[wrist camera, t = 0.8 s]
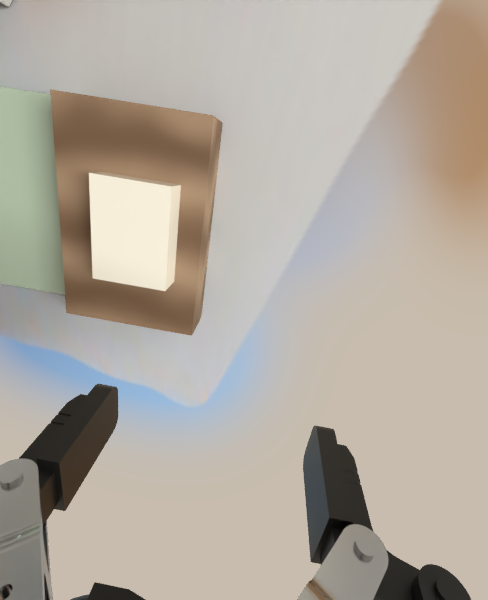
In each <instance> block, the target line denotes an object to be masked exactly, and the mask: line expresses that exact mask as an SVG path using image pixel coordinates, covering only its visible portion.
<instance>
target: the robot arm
mask: <svg viewBox="0 0 488 600" xmlns="http://www.w3.org/2000/svg"><path fill="white" fill-rule="evenodd" d="M117 420H118V389H117V388H116V387H112V386H107V385H102V384H97V385H95V387H94V388H93V389H92V390H91V391H90V393H89V394H88V395H82V394H81V395H79V396H77V397H75V398H74V399H72V400H71V401H69V402H68V403H67V404H66V405H65V406H64V407H63V408H62V409H61V411H60V412H59V414H58V415H56V416H55V418H54V419H53V420H52V421H51V423H50V424H48V426H47V427H46V428H45V429H44V430H43V431H42V433H41V434H40V435H39V436H38V437H37V438H36V440H35V441H34V442H33V443H32V444H31V445H30V446H29V448H28V449H27V450H26V451H25V452H24V453H23V455H22V456H21V457H20V458H19V459H15V460H11V461H8V462H6V463H4V464H2V465H0V600H53V596H52V588H51V576H50V563H49V547H48V533H47V519H48V517H49V516H50V514H51V513H52V511H53V509H58V510H63V511H65V510H66V509H67V507H68V505H69V504H70V502H71V500H72V499H73V497H74V495H75V494H76V492H77V490H78V489H79V487H80V486H81V484H82V482H83V481H84V479H85V477H86V476H87V474H88V472H89V471H90V469H91V467H92V466H93V464H94V462H95V461H96V459H97V457H98V456H99V454H100V452H101V451H102V449H103V448H104V446H105V444H106V443H107V441H108V439H109V438H110V436H111V434H112V433H113V430H114V429H115V426H116V423H117ZM303 463H304V464H303V470H304V483H305V496H306V507H307V520H308V531H309V545H310V557H311V562H314V563H319V564H321V566H320V568H319V570H318V571H317V573H316V574H315V576H314V577H313V579H312V580H311V581H309V583H308V584H307V585H306V587H305V588H304V590H303V591H302V593H301V594H300V596H299V598H298V599H297V600H471V599H470V596H469V594H468V593H467V591H466V589H465V588H464V587H463V585H462V584H461V583H460V582H459V580H458V579H457V578H456V577H455V576H454V575H452V574H451V573H450V572H449V571H447V570H445V569H444V568H442V567H440V566H437V565H432V564H430V565H425V566H423V567H422V568H421V570H419V569H416V568H415V567H413V566H411V565H409V564H408V563H406V562H404V561H402V560H400V559H398V558H397V557H395V556H393V555H392V554H391V553H390V552H388V551H387V550H386V548H385V546H384V544H383V543H382V541H381V540H380V538H379V537H378V536H377V535H376V534H375V533H374V532H373V529H372V526H371V523H370V519H369V515H368V511H367V507H366V503H365V499H364V495H363V491H362V487H361V485H360V479H359V475H358V474H357V467H356V464H355V460H354V457H353V456H352V454H351V453H350V451H349V450H348V448H347V447H346V446H344V445H339V444H337V440H336V435H335V431H334V430H333V429H330V428H325V427H319V426H314V427H313V429H312V432H311V436H310V438H309V441H308V445H307V448H306V451H305V455H304V462H303ZM71 600H145V599H143V598H142V597H140V596H138V595H137V594H135V593H134V592H132V591H130V590H129V589H123V588H118V587H114V586H110V585H104V584H100V583H94V585H93V588H92V590H91V592H90V594H89V595H84V596H80V597H77V598H73V599H71Z"/></svg>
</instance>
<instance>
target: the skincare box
mask: <svg viewBox="0 0 488 600" xmlns="http://www.w3.org/2000/svg"><path fill="white" fill-rule="evenodd" d="M11 2H12V0H0V3H2V4H4V5H5V6H7V7H9V6H10V4H11Z"/></svg>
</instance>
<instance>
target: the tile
mask: <svg viewBox="0 0 488 600" xmlns="http://www.w3.org/2000/svg"><path fill="white" fill-rule="evenodd" d="M180 191H181V185H178V184H172V183H166V182H160V181H154V180H148V179H142V178H136V177H130V176H124V175H118V174H112V173H106V172H98V173H89V193H90V221H91V249H92V276H93V279H99V280H105V281H110V282H116V283H122V284H127V285H133V286H139V287H144V288H150V289H156V290H161V291H166V290H167V289H168V288H169V287H170V286H171V284H172V283H173V282H174V277H175V263H176V249H177V234H178V220H179V205H180Z"/></svg>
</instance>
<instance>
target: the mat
mask: <svg viewBox="0 0 488 600" xmlns="http://www.w3.org/2000/svg"><path fill="white" fill-rule="evenodd" d="M0 283H1V284H7V285H12V286H18V287H24V288H29V289H35V290H40V291H46V292H51V293H57V294H63V295H65V285H64V272H63V258H62V244H61V230H60V217H59V203H58V189H57V175H56V162H55V148H54V134H53V121H52V107H51V95H49V94H43V93H36V92H30V91H24V90H18V89H11V88H5V87H0Z"/></svg>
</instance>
